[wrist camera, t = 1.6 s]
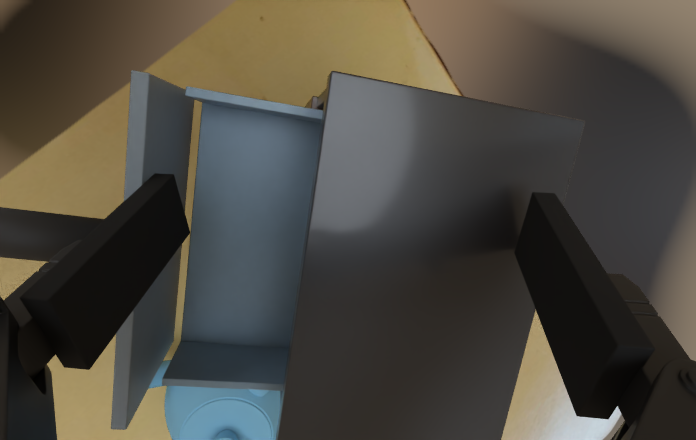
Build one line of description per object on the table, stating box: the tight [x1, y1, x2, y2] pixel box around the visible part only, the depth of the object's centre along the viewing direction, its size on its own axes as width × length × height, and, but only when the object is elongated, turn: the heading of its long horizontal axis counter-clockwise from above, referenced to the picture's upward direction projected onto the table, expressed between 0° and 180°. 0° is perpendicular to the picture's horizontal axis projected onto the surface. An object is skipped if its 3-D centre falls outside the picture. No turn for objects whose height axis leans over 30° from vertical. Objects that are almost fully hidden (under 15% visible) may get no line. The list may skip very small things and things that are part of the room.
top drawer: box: [0, 71, 323, 430], centre depth 18 cm, size 20×14×7 cm
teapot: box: [148, 360, 280, 440], centre depth 44 cm, size 20×20×13 cm
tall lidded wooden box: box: [275, 71, 585, 440], centre depth 31 cm, size 10×16×33 cm, turn 171°
